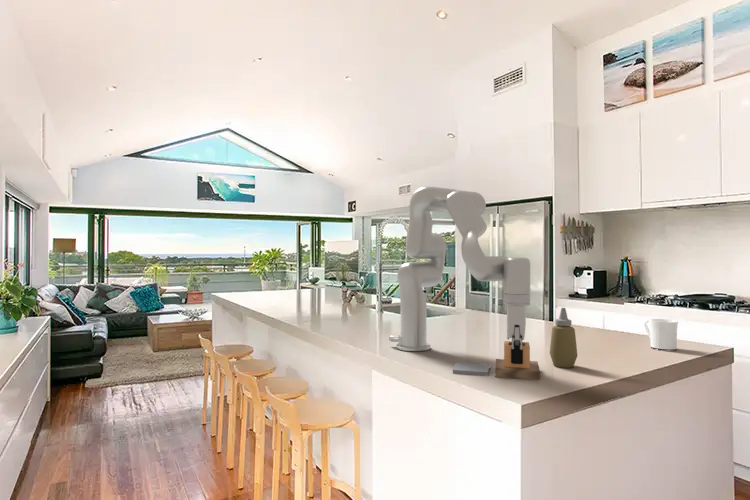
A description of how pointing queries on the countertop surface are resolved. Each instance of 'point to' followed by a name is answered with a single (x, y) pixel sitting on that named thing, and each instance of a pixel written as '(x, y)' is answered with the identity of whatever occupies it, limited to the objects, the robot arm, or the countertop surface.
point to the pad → (471, 368)
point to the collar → (508, 355)
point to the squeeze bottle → (563, 342)
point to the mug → (662, 333)
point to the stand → (517, 371)
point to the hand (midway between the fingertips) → (516, 360)
